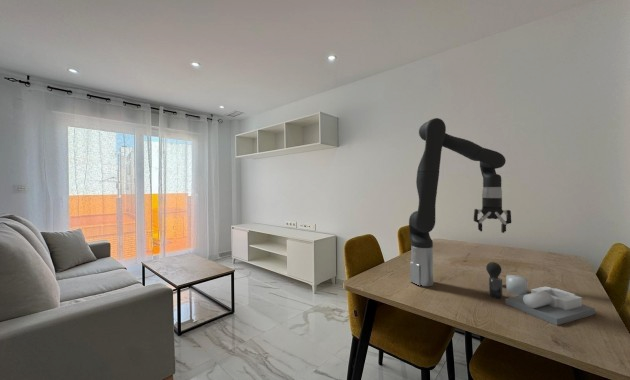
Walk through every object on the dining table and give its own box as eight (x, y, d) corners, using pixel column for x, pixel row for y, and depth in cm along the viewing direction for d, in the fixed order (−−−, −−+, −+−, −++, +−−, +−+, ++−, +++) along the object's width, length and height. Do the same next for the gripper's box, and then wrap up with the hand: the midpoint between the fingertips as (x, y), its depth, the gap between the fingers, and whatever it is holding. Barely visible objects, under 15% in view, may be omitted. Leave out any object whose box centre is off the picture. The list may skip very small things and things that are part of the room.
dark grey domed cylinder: (497, 299, 101) (496, 281, 100) (486, 295, 105) (486, 278, 105) (505, 297, 102) (505, 280, 102) (494, 293, 106) (494, 276, 106)
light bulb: (497, 287, 112) (497, 265, 111) (483, 283, 117) (483, 261, 116) (504, 285, 114) (504, 263, 114) (490, 281, 119) (490, 259, 119)
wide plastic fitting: (519, 296, 103) (519, 281, 103) (502, 290, 109) (502, 276, 109) (531, 293, 105) (531, 279, 105) (513, 287, 111) (513, 274, 111)
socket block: (556, 325, 82) (556, 305, 81) (505, 303, 97) (505, 287, 97) (595, 314, 88) (594, 295, 88) (541, 295, 103) (541, 279, 103)
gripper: (475, 197, 118) (475, 232, 118) (513, 197, 112) (513, 234, 112) (472, 196, 125) (472, 229, 125) (508, 196, 119) (508, 231, 119)
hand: (491, 231), depth 119 cm, fingers open, 8 cm apart
